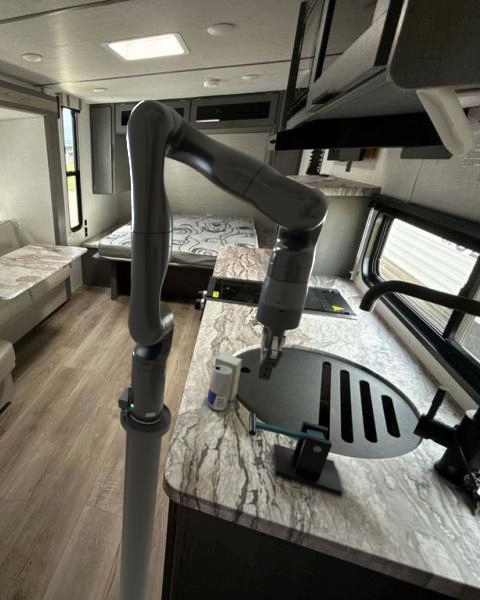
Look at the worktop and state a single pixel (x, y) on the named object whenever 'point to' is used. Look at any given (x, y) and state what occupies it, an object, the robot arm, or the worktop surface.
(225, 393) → the energy drink
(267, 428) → the black and teal hammer
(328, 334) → the worktop surface
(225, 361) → the cosmetic box
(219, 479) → the worktop surface
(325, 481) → the black lever stand
